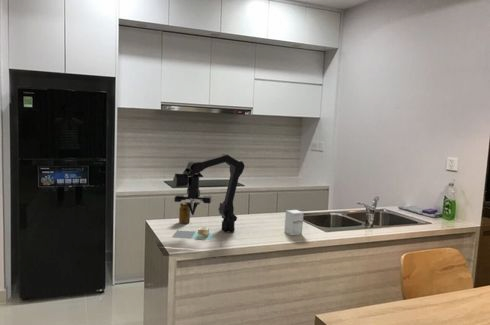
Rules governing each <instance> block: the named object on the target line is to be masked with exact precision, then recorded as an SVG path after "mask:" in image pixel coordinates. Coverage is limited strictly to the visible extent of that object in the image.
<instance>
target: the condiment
mask: <svg viewBox="0 0 490 325" xmlns="http://www.w3.org/2000/svg"><path fill="white" fill-rule="evenodd" d="M185 203H186V202H180V206H179V214H178V216H179V217H178V222H176V224H180V225H187V224H188V225H189V223H190V225H192V224H193V223H191V222H190V220H191V211H190V208H189V207H188V205H187V204H185Z"/></svg>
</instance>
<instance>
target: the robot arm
mask: <svg viewBox="0 0 490 325" xmlns="http://www.w3.org/2000/svg"><path fill="white" fill-rule="evenodd" d="M224 163H225V164H227V165H228V166H229V174H230V176H229V180H228V183H227V190H226V193H225V198H224V200H223V202H220V203H219V206H218V214H219V215H220V216H221V218H222V219H223V220H222V221H221V231H222V232H224V233H234V232H235V230H236V229H235V224H236V221H237V220H238V217H237V216H236V215H235V213H234V210H235V207H234V201H235V200H234V199H235V196H236V195H235V194H236V191H237V187H238V184H239V179H240V177H241V175H242V174H243V172H244V169H245V163H244V162H243V161H242V160H238V159H235V158H234V157H232V156H231V155H229V154H227V153H223V154H221V155H217V156H214V157H210V158H206V159H202V160H191V161H188V163H187V166H186V168H185V169H184V170H183V172H182V173H177V172H176V173H174V176H173V178H172V184H173V187H175V188H178V187H179V188H180V187H186V186H187V190H186V194H187V196H185V195H184V194H176V195H175V196H174V199H173V200H174V203H182V201H185V202H184V203H185V204H187V205H188V207H189V208H190V215H192V216H194V215H195V212H196V211H197V207H198V205H200V203H201V202H202V203H204V204H211V203H212V196H211V195H203V197H201V190H200V178H203V177H204V175H203V174H202V172H203V171H204V170H206V169H208V168H210V167H213V166H214V167H215V166H216V165H220V164H224Z"/></svg>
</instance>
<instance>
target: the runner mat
mask: <svg viewBox="0 0 490 325" xmlns="http://www.w3.org/2000/svg"><path fill="white" fill-rule="evenodd" d="M214 235H215V233H214V232H209V236H208V238H205V237H198V231H192V230H191V231H190V230H179V229H178V230H176V231H175V233H174V234H173V235H172V237H171V238H173V239H174V238H175V239H177V238H178V239H191V240H202V241H211V240H212V239H213V236H214Z"/></svg>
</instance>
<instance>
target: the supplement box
mask: <svg viewBox="0 0 490 325" xmlns="http://www.w3.org/2000/svg"><path fill="white" fill-rule="evenodd" d="M284 216H285V217H284V218H285V219H284V233H285V234H287V235H289V236H291V237H292V236H298V235H303V224H304V211H301V210H298V209H292V210H291V209H290V210H289V209H287V210H285V215H284Z"/></svg>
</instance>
